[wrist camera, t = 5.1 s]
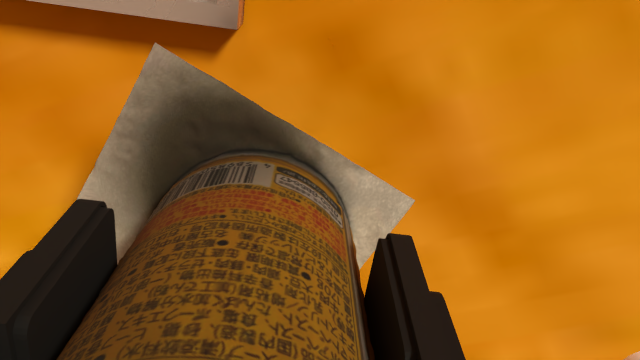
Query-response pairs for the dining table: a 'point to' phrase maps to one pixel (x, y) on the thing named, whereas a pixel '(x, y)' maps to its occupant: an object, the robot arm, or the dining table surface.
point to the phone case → (634, 356)
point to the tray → (169, 10)
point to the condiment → (228, 231)
